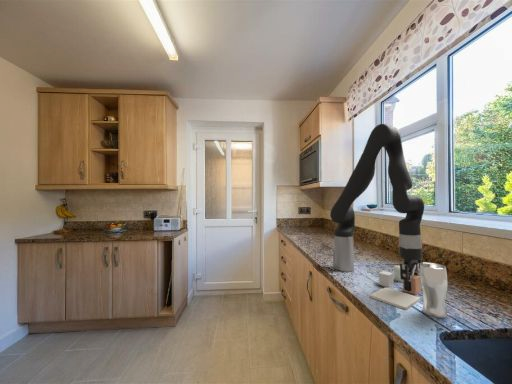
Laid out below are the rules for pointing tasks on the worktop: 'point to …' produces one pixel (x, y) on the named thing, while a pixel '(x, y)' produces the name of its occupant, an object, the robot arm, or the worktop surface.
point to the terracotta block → (414, 285)
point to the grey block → (386, 279)
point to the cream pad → (395, 298)
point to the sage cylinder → (397, 273)
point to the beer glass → (433, 289)
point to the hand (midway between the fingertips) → (412, 288)
